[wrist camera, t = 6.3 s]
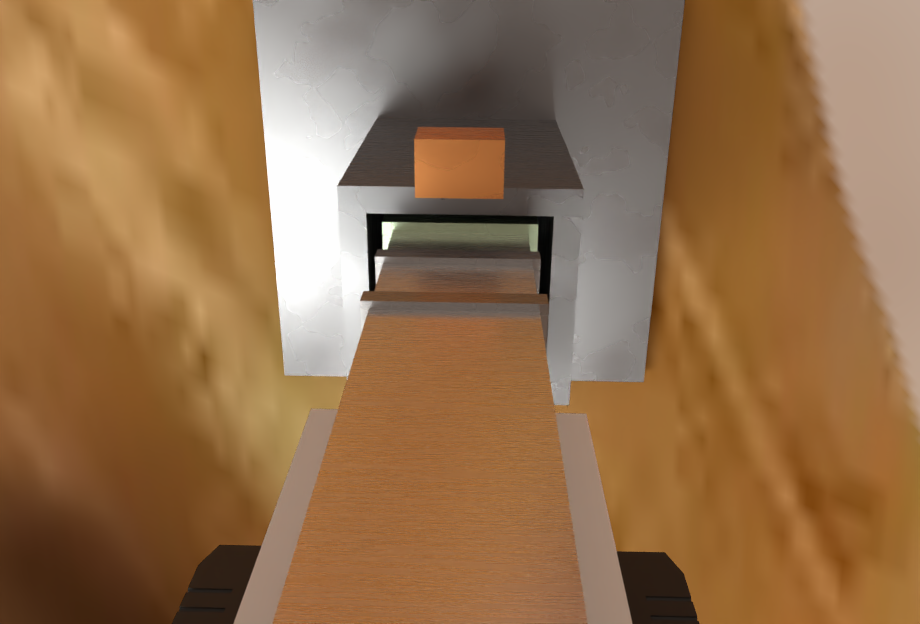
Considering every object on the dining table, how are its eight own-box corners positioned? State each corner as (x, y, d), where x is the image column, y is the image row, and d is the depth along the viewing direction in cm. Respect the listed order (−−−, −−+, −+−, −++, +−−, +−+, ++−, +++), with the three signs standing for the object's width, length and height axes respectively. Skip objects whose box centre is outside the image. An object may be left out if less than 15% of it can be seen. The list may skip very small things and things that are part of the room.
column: (395, 319, 30) (214, 1115, 10) (392, 192, 28) (160, 847, 8) (526, 322, 30) (620, 1129, 10) (532, 194, 28) (663, 862, 8)
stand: (289, 365, 39) (212, 534, 28) (258, -8, 32) (142, 21, 21) (639, 371, 39) (703, 545, 28) (679, -4, 32) (782, 27, 21)
